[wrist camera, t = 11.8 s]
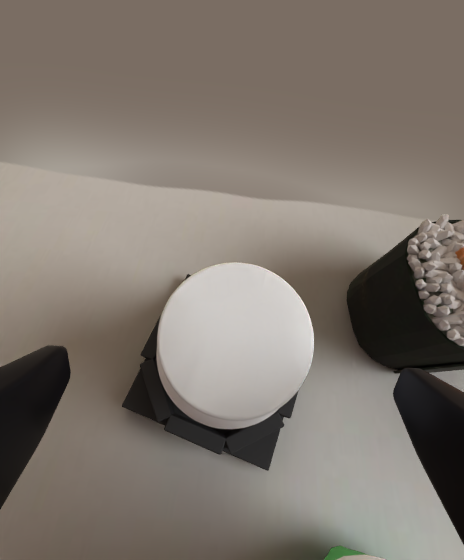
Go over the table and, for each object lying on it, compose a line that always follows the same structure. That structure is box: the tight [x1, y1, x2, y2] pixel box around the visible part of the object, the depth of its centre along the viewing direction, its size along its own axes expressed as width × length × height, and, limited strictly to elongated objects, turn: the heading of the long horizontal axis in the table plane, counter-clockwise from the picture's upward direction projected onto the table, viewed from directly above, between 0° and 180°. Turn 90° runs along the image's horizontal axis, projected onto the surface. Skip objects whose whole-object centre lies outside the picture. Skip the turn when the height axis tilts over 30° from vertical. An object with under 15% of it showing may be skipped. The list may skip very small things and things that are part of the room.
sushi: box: [347, 215, 464, 373], centre depth 17 cm, size 8×8×8 cm
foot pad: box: [122, 274, 298, 470], centre depth 17 cm, size 9×9×2 cm
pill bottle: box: [157, 262, 314, 429], centre depth 13 cm, size 6×6×10 cm
